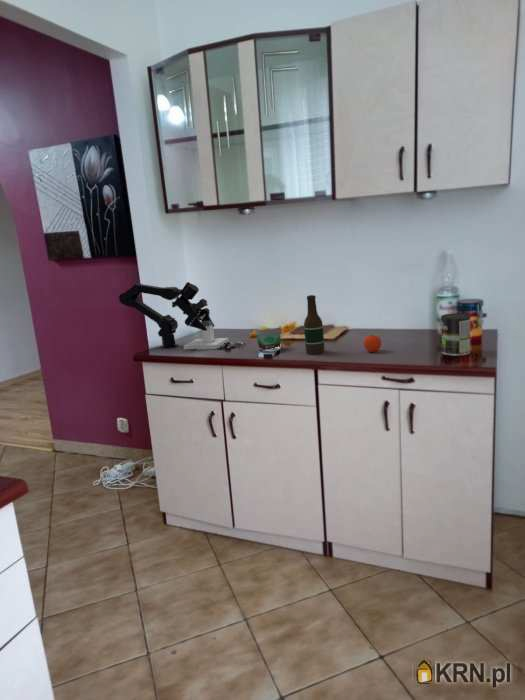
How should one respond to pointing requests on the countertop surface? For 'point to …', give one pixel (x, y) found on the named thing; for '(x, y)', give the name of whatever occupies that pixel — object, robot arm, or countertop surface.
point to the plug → (208, 332)
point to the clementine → (372, 343)
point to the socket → (206, 344)
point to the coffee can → (455, 334)
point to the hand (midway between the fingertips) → (210, 328)
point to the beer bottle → (313, 329)
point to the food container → (268, 338)
